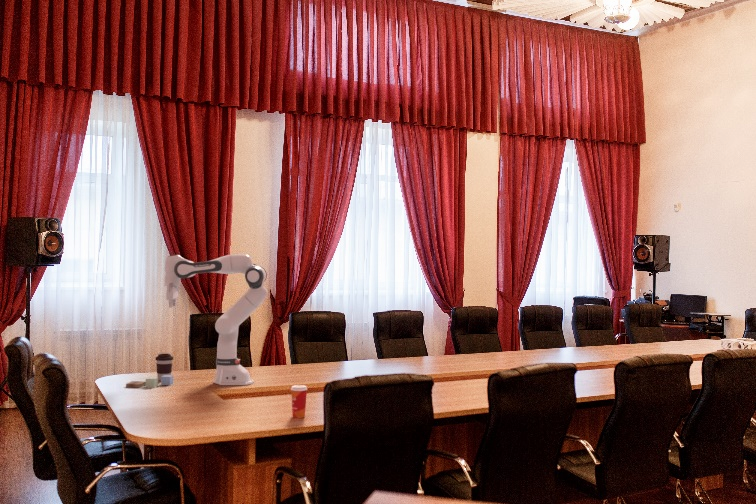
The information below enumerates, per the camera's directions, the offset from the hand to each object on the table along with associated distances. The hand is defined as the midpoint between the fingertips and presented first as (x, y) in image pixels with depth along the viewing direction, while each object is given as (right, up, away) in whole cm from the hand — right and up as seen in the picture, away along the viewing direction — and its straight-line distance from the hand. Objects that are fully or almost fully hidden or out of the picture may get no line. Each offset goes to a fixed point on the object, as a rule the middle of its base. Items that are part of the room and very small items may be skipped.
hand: (172, 306), depth 400 cm
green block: (-7, -43, -15) cm, 46 cm away
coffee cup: (-6, -44, +6) cm, 44 cm away
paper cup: (+82, -45, -81) cm, 124 cm away
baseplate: (-16, -43, -15) cm, 48 cm away
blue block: (0, -43, -9) cm, 44 cm away
